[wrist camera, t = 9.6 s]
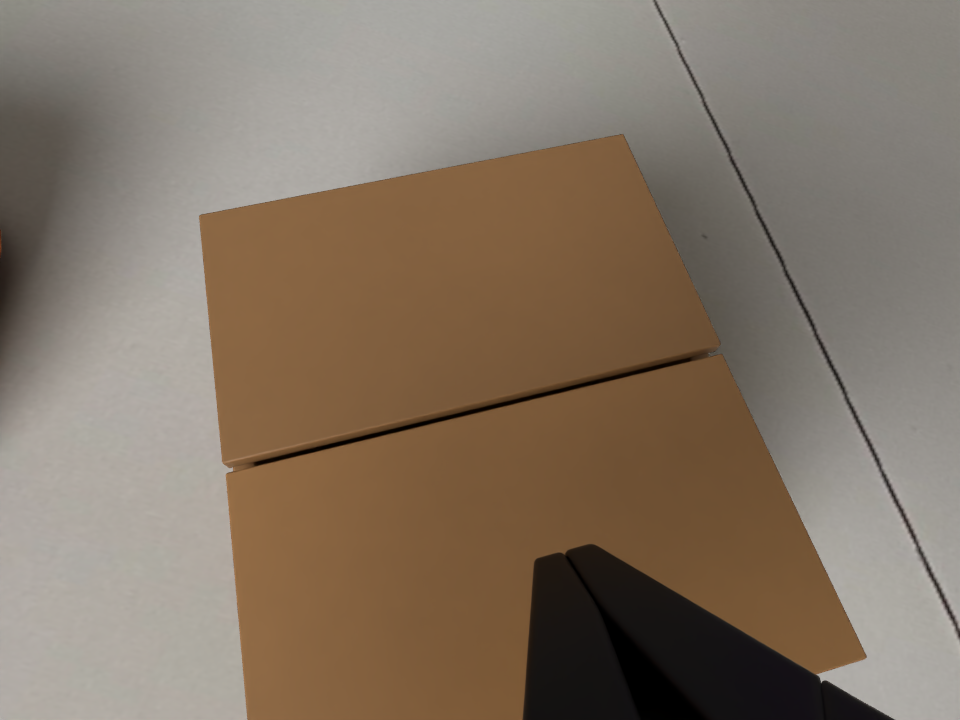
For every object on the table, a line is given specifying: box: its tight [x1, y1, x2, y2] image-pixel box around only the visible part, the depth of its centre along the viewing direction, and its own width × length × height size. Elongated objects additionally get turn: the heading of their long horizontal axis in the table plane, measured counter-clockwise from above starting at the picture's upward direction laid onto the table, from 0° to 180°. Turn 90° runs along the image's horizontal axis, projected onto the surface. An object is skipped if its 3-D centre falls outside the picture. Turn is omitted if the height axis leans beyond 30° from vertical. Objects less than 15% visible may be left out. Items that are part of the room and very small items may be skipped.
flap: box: [226, 354, 867, 720], centre depth 12 cm, size 6×11×1 cm, turn 105°
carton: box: [199, 134, 721, 472], centre depth 17 cm, size 13×11×9 cm
